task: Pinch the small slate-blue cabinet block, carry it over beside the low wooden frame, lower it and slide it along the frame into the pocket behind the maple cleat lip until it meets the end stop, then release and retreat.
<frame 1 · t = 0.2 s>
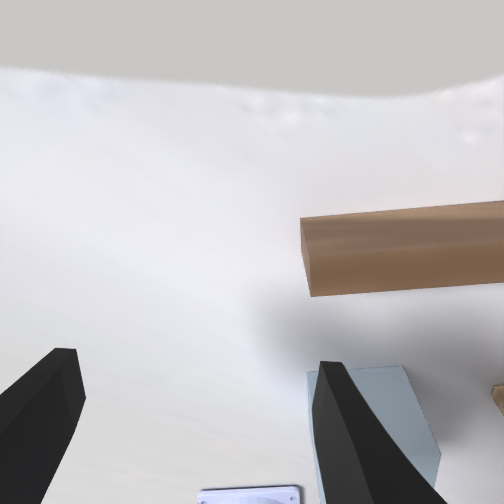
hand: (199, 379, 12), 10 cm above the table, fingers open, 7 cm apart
cabinet block: (353, 393, 26), on the table
wooden frame: (490, 219, 20), on the table
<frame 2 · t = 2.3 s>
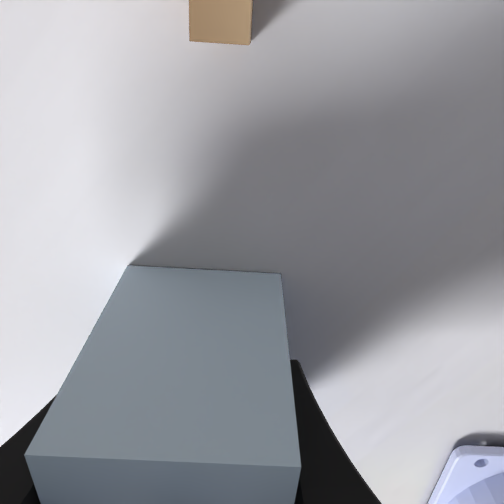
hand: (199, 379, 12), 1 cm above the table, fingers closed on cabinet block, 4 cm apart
cabinet block: (204, 347, 13), on the table, touching gripper
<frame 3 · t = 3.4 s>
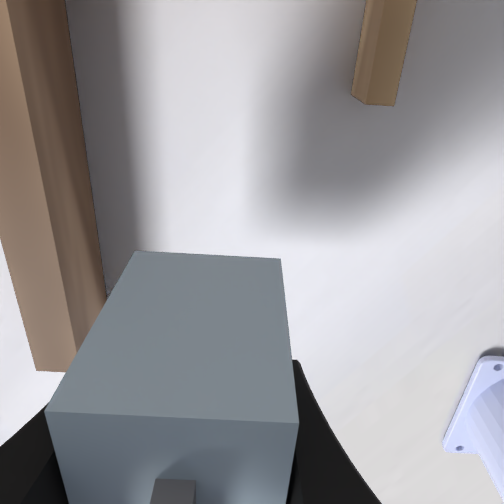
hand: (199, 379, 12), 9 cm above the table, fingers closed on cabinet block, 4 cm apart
cabinet block: (207, 330, 14), point 6 cm above the table, touching gripper
wooden frame: (60, 139, 17), on the table
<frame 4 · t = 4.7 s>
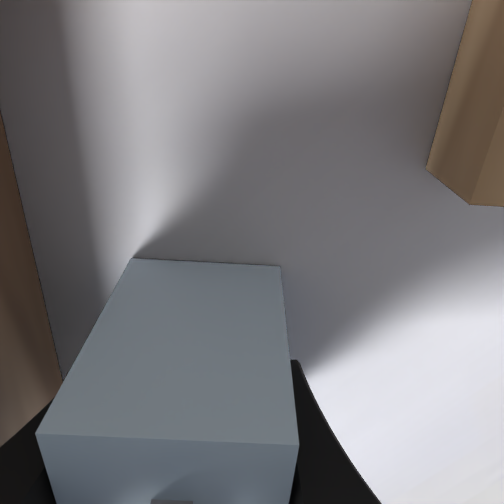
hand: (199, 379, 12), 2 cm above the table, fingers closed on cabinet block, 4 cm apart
cabinet block: (205, 338, 14), on the table, touching gripper
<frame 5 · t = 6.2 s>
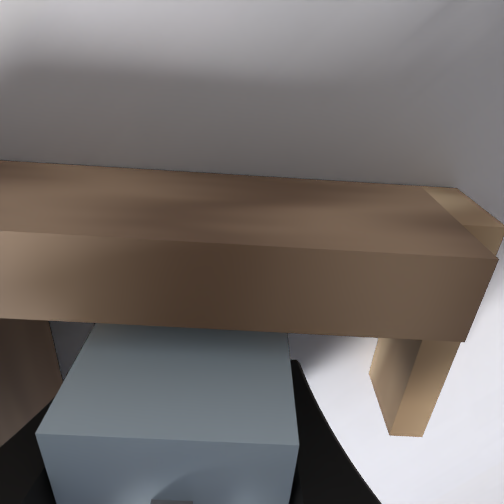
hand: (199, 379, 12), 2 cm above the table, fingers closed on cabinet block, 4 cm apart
cabinet block: (205, 338, 14), on the table, touching gripper
wooden frame: (42, 405, 15), on the table
when the fingers open (2 cm above the table, at t = 7.6 s): cabinet block stays where it is, on the table.
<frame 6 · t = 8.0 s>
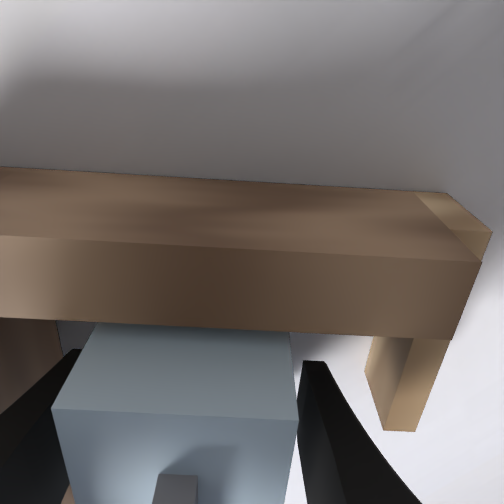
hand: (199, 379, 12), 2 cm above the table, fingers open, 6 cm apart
cabinet block: (207, 329, 14), on the table
wooden frame: (48, 402, 16), on the table
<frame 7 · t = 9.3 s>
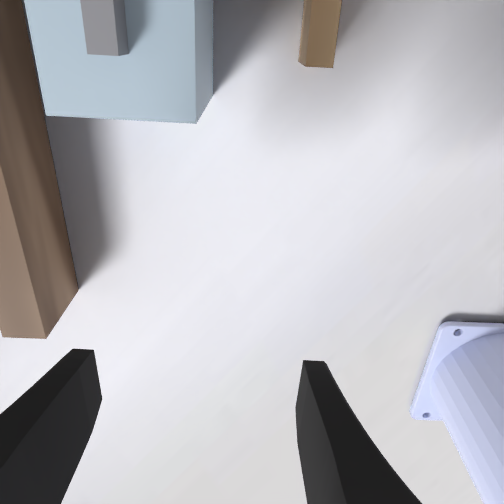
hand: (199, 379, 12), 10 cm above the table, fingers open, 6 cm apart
cabinet block: (156, 11, 16), on the table
wooden frame: (20, 110, 18), on the table
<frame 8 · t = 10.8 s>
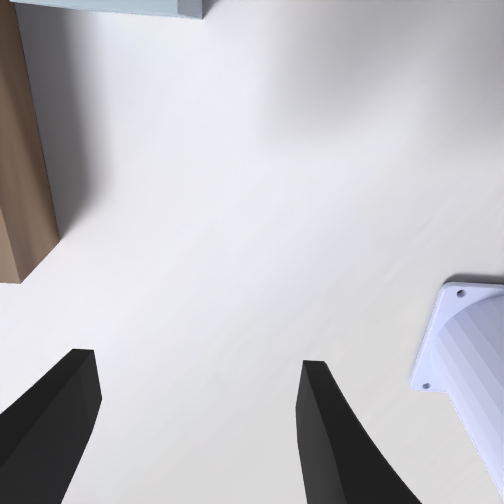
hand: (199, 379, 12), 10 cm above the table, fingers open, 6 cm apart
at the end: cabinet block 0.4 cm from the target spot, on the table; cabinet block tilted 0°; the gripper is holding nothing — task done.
